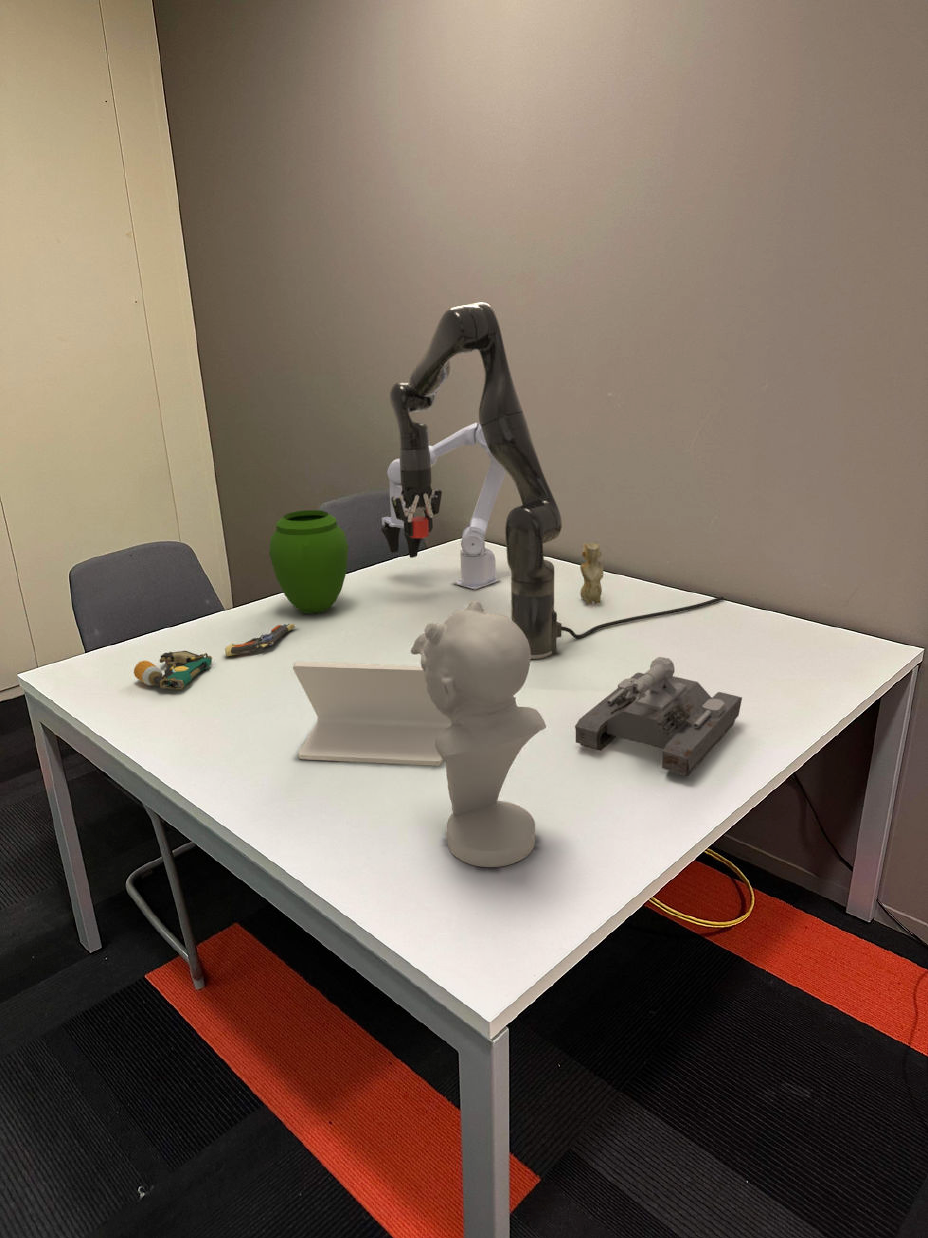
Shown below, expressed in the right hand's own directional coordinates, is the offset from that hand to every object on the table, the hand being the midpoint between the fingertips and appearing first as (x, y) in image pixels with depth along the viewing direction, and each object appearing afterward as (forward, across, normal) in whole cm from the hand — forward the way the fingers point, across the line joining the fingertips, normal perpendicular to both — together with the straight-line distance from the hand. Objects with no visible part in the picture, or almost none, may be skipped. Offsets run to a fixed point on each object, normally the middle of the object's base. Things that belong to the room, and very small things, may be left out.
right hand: (418, 533), depth 214 cm
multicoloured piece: (+18, +66, +4) cm, 68 cm away
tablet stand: (+18, +47, +55) cm, 74 cm away
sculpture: (+18, -32, +29) cm, 47 cm away
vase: (+18, +24, -14) cm, 33 cm away
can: (+1, 0, 0) cm, 1 cm away
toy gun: (+18, +44, -2) cm, 48 cm away
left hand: (+10, -5, -15) cm, 19 cm away
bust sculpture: (+19, +52, +88) cm, 104 cm away
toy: (+19, +9, +86) cm, 89 cm away
